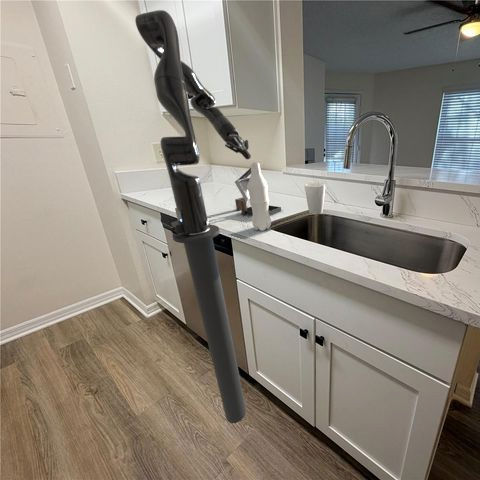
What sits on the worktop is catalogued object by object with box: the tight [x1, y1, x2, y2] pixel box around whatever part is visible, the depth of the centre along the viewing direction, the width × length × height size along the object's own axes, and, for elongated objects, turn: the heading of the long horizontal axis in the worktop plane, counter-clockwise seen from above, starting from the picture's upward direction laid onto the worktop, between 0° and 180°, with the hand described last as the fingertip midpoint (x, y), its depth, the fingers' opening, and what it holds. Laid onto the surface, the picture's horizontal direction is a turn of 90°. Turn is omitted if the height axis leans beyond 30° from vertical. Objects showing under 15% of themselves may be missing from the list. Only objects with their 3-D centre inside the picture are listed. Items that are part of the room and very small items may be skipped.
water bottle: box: [248, 162, 272, 232], centre depth 98 cm, size 7×7×25 cm
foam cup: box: [304, 182, 326, 216], centre depth 119 cm, size 10×9×13 cm
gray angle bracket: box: [234, 167, 251, 204], centre depth 120 cm, size 12×12×11 cm
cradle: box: [234, 196, 248, 216], centre depth 126 cm, size 10×15×7 cm
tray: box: [240, 205, 282, 217], centre depth 123 cm, size 14×12×2 cm
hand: (248, 158), depth 116 cm, fingers closed
